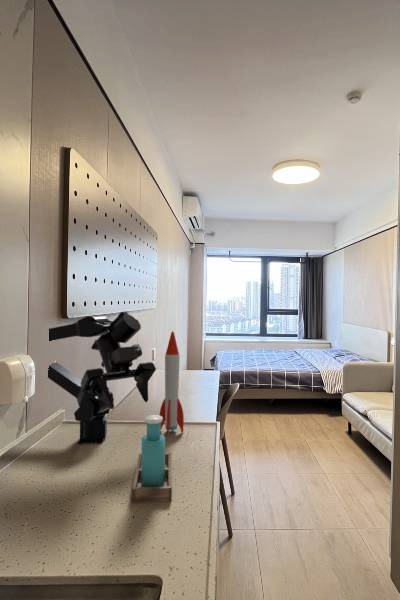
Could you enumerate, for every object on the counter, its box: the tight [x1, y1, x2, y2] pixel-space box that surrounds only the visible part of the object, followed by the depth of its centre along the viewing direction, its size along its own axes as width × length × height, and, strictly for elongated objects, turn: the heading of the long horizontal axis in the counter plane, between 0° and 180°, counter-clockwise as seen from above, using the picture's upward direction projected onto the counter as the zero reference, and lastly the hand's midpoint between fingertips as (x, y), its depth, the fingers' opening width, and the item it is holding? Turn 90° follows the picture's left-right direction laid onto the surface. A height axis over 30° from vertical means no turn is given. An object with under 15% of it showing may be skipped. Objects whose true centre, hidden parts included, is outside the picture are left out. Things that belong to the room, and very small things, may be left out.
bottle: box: [140, 414, 166, 487], centre depth 70 cm, size 5×5×14 cm
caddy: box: [131, 452, 173, 504], centre depth 74 cm, size 8×15×3 cm, turn 5°
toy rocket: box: [159, 330, 185, 437], centre depth 101 cm, size 6×6×30 cm
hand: (130, 404), depth 83 cm, fingers open, 9 cm apart
